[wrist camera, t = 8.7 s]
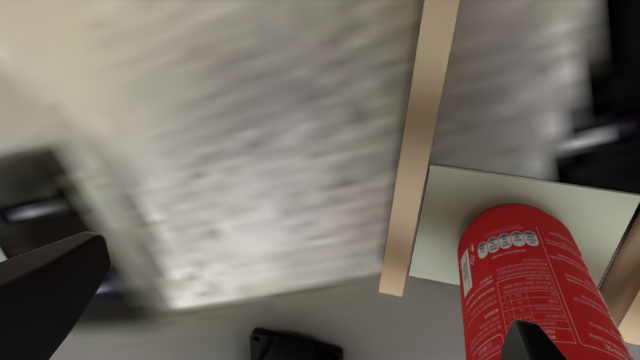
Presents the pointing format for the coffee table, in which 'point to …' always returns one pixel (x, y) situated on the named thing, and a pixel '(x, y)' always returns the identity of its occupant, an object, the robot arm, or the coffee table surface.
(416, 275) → the bay
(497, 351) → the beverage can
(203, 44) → the coffee table surface
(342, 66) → the coffee table surface
